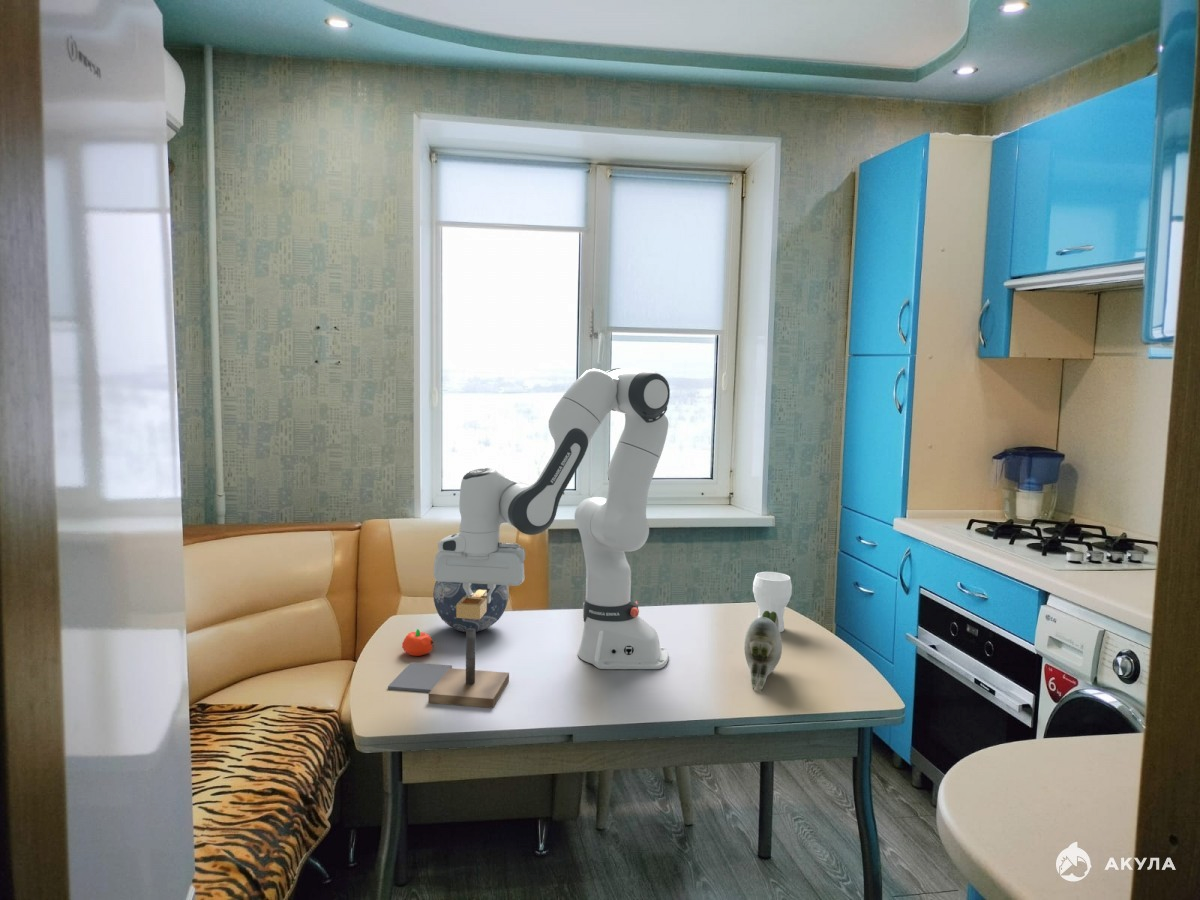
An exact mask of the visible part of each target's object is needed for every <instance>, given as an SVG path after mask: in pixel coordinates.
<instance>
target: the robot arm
mask: <svg viewBox="0 0 1200 900" xmlns="http://www.w3.org/2000/svg"><path fill="white" fill-rule="evenodd" d="M670 396H671V389H670V385H669V382H668V380H667V379H666V377H664V376H663V375H662V374H661V373H658V372H657V371H654V370H650V369H648V370H647V369H642V368H638V367H635V368H634V367H631V368H612V369H609V370H607V371H604V370H601V369H598V368H592V369H591V368H589V369H587V370H586V371H584V372H583V373H582V374H581V375H580V376H579V377H578V378H577V379H576V380H575V381H574V382H573V383H572V384H571V385H570V387H569V388H568V389H567V390H566V391H565V392H564V394H563V395H562V397H561V398H560V399H559V401H558V402H557V403H556V405H555V407H554V408H553V410H552V411H551V414H550V417H549V419H548V429H549V433H550V436H551V437H552V439H553V440H554V441H553V442H554V449H553V453H552V455H551V456H550V458H549V459H548V462H547V463H546V465H545V467H544V468H543V470H542V471H541V473H540V475H539V477H538V478H537V480H536V481H534V483H532V484H531V485H529V484H527V483H525V482H521V481H518V480H515V479H512V478H509V477H507V476H506V475H504V474H501V473H499V472H498V471H497V470H496V469H495V468H490V467H489V468H488V467H486V468H477V469H474V470H473V469H472V470H470V471H469V472H467V473H465V474H464V475H463V477H462V479H461V482H460V483H461V484H460V488H459V489H460V490H459V514H460V517H461V518H460V524H459V530H458V531H459V532H457V533H453V534H450V535H447V536H445V537H443V538H442V539H440V540H439V542H438V543H437V549H438V552H437V553H436V555H435V559H434V565H433V578H434V579H435V581H439V582H457V583H463V589H464V590H465V592H466V594H467V595H468V597H471V596H472V595H473V594H474V593H473V592H472V590H471V588H470V585H471V583H475V584H487V585H488V589H490V590H489V592H488V593H487V594H484V595H483V598H487V603H490V602H491V594H492V592H493V590H494V589H495V587H496V585H508V586H513V587H519V586H520V585H521V584H523V583H524V581H525V577H526V576H525V563H524V562H525V560H526V550H525V548H524V547H523V546H522V545H520V544H519V543H508V542H500V526H501V524H506V523H507V524H509V525H511V526H513V527H514V528H516V530H518V531H519V532H521V533H522V534H524V535H528V536H535V535H539V534H542V533H544V532H545V531H547V530H548V529H549V528H550V527H551V525H552V524H553V523H554V520H555V519H556V515H557V512H558V507H559V504H560V501H561V498H562V496H563V494H564V492H565V490H566V489H567V487H568V486H569V484H570V482H571V480H572V478H573V477H574V475H575V473H576V471H577V469H578V468H579V466H580V464H581V462H582V460H583V458H584V456H585V455H586V452H587V450H588V447H589V443H590V441H591V439H592V438H593V436H594V435H595V433H596V432H597V430H598V429H599V427H600V425H601V424H602V423H603V421H604V419H606V417H607V415H608V414H609V413H610V412H611V411H614V412H618V413H622V414H624V418H625V419H624V420H625V422H624V427H623V430H622V433H621V434H620V438H619V440H618V442H617V444H616V447H615V449H614V451H613V454H612V457H611V460H610V462H609V465H608V468H607V471H606V475H607V478H608V488H607V489H608V490H607V496H606V497H603V496H593V497H587V498H584V499H583V500H582V501H580V502H579V504H578V505H577V507H576V508H575V512H574V522H575V525H576V527H577V529H578V531H579V535H580V540H581V545H582V550H583V555H584V562H585V582H586V583H585V598H584V600H583V605H582V606H583V608H582V618H583V629H582V630H583V631H582V636H581V641H580V645H579V648H578V650H577V651H578V652H577V656H578V657H579V658H580V659H581V660H582V661H584V662H586V663H588V664H591V665H593V666H595V667H596V668H597V669H600V670H660V669H662V668H664V667H665V666H666V665H667V663H668V662H669V652H668V650H667V648H666V647H664V646H662V645H661V644H660V638H659V635H658V632H657V630H656V629H655V628H654V627H653V626H652V625H650V624H649V623H648V622H647V621H645V619H643V618H642V617H640V616H639V613H640V609H639V604H638V601H637V600H636V601H634V600H632V599H631V589H632V588H631V586H632V584H631V583H632V569H631V566H630V564H629V562H628V560H627V556H626V553H628V552H634V551H637V550H639V549H641V548H642V547H643V546H644V545H645V544H646V542H647V541H648V538H649V535H650V526H649V522H648V519H647V503H648V502H647V501H648V495H649V489H650V486H651V482H652V480H653V477H654V474H655V471H656V469H657V467H658V464H659V461H660V459H661V457H662V454H663V450H664V447H665V443H666V440H667V435H668V431H669V430H668V429H669V419H668V417H667V416H666V415H665V414H666V413H667V410H668V405H669V402H670ZM625 552H626V553H625Z"/></svg>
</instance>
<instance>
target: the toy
mask: <svg viewBox="0 0 1200 900" xmlns="http://www.w3.org/2000/svg"><path fill="white" fill-rule="evenodd" d="M778 625H779V624H778V617H777V614H776V613H775V612H774V611H773V612H771V613H770V612H769V611H765V612H764V613H763V614H762V616H761V617H759V618H758V617H757V618H755V619H754V620H753V621H752V622H751V623H750V624H749V626H748V628H747V630H746V633H745V637H744V648H743V650H744V657H745V660H746V664H747V666H748V668H749V671H750V682H751V683H750V684H751V686H752V690H755V688H756V685H757V683H758V684H759V688H760V692H762V691H763V688H764V687H765V684H766V680H767V678H768V677H769V675H771V674H772V672H773V671H774V670H775V669H776V667H778V666H777V665H778V664H779V662H780V660H781V657H782V650H783V649H782V647H783V644H782V643H783V642H782V637H781V632H779V630H778Z"/></svg>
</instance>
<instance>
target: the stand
mask: <svg viewBox="0 0 1200 900" xmlns="http://www.w3.org/2000/svg"><path fill="white" fill-rule="evenodd" d="M475 631H476V630H475V629H474V628H469V629H466V632H465V634H466V635H465V668H453V667H452V668H449V669H448V670H447V672H446V673H445V674H444V675H443V677H442V678H441V679H440V680H439V681H438V683H437V684H436V685H435V686H434V688H433V689H432V690H431V691H430V692H428V704H442V705H451V706H452V705H453V706H462V707H463V706H464V707H465V706H466V707H475V708H476V707H477V708H489V709H493V708H495V706H496V704H497V703H498V700H499V699H500V697H501V695H502V694H503V692H504V690H505V689H506V687H507V685H508V684H509V682H510V672H504V671H493V670H490V671H489V670H481V669H479V670H478V669H476V632H475Z"/></svg>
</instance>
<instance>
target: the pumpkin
mask: <svg viewBox="0 0 1200 900" xmlns="http://www.w3.org/2000/svg"><path fill="white" fill-rule="evenodd" d="M403 639H404V640H403V641H402V644H401V648H402V649H403V651H404V652H405V653H407V654H408V655H410V656H414V657H417V656H418V657H420V656H424V655H427V654H429V653H431V651H432V650H433V648H434V641H433V638H432V637H431V635H429V634H428V633H426V632H423V631H420V629H418V628H416V630H415V631H412V632H411V631H410V632H409V633H407V635H406V636H405V637H404V638H403Z"/></svg>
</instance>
